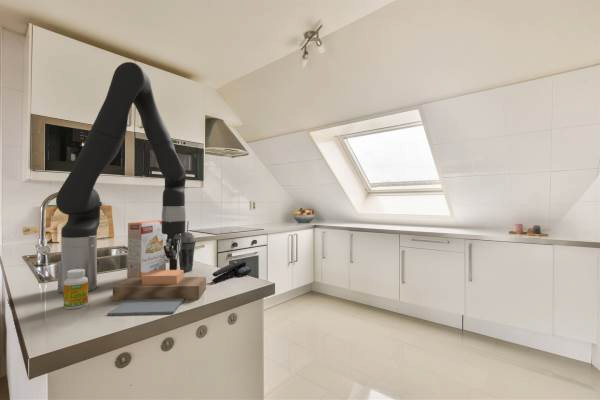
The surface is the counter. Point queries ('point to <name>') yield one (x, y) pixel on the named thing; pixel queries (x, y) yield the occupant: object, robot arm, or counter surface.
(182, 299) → the slate mat
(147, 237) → the cracker box
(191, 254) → the beverage cup
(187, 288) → the panel
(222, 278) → the can opener
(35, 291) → the counter surface
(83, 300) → the supplement bottle
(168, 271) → the terracotta tile
